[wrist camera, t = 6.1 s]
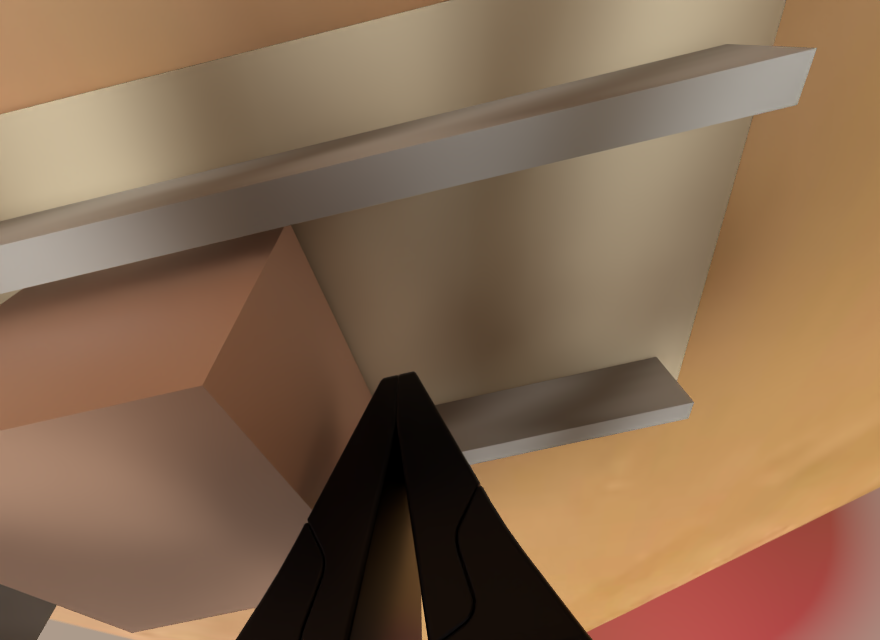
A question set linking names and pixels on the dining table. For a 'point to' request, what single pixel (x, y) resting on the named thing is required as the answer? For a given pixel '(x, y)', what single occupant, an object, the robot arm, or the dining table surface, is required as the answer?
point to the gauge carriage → (169, 429)
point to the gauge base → (436, 196)
